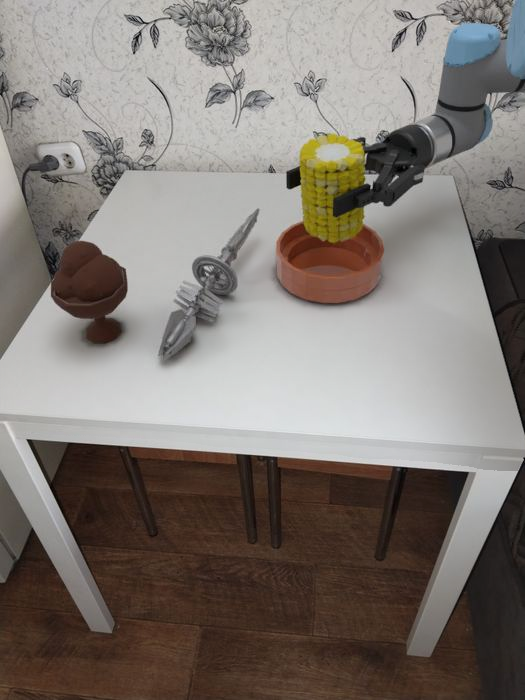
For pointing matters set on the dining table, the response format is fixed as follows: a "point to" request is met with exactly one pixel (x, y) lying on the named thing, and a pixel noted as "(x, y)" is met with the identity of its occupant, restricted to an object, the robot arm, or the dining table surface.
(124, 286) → the ice cream bowl
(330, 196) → the food
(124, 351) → the dining table surface
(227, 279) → the spaceship
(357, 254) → the terracotta bowl
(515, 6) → the robot arm
